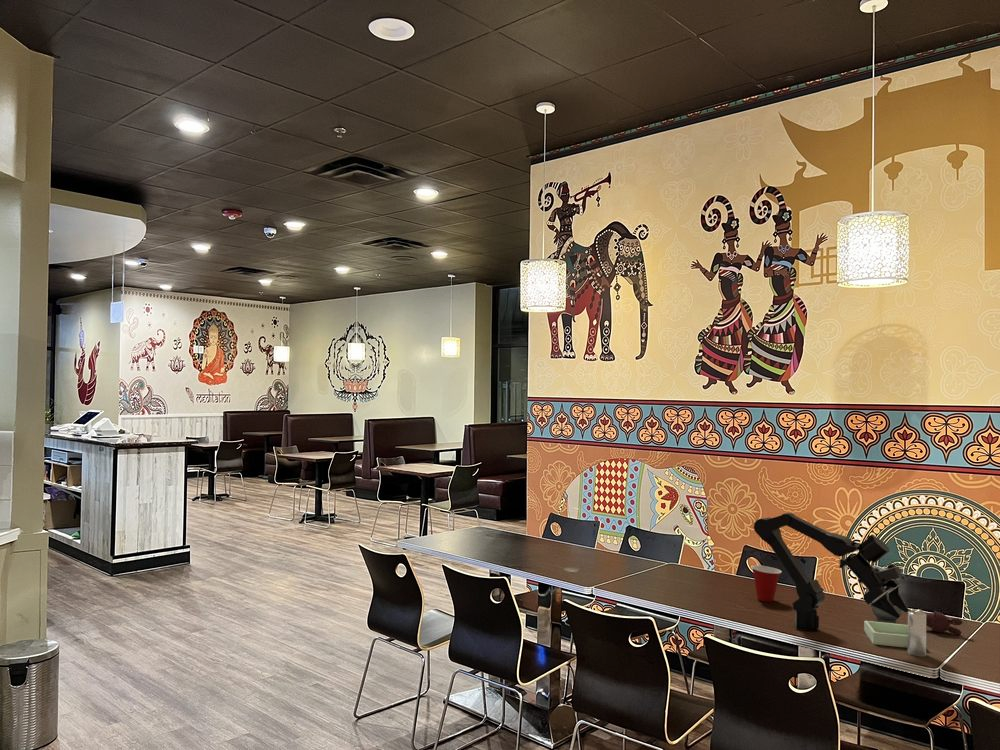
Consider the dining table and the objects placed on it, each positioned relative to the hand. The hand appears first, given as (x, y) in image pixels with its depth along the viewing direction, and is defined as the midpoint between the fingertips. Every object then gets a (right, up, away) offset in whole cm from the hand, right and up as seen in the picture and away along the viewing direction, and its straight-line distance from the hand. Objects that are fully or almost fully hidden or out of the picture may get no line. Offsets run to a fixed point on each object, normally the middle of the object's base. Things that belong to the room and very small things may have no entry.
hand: (903, 614), depth 220 cm
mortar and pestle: (+10, -13, +29) cm, 33 cm away
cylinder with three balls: (+2, -11, -3) cm, 11 cm away
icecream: (+22, -13, +20) cm, 33 cm away
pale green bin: (+2, -11, +10) cm, 15 cm away
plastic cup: (-21, -13, +55) cm, 60 cm away
